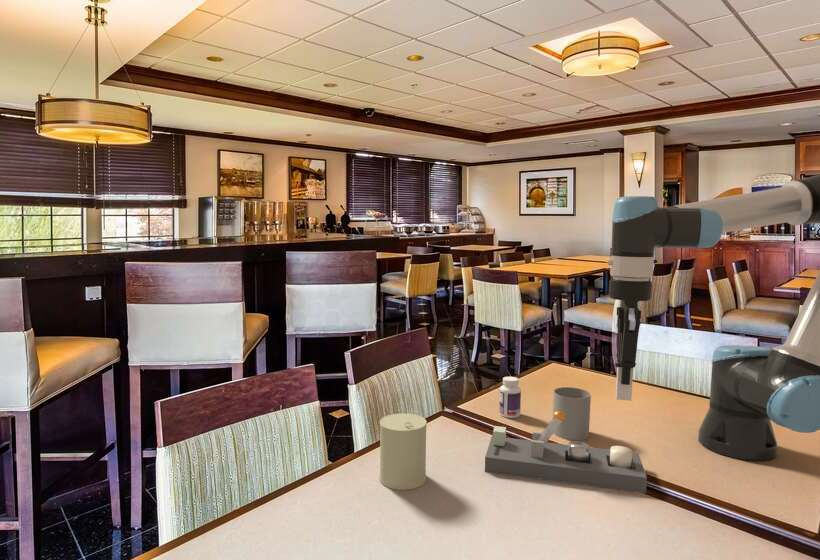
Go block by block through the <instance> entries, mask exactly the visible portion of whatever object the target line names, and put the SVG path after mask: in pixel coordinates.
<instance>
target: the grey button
mask: <svg viewBox="0 0 820 560" xmlns="http://www.w3.org/2000/svg"><path fill="white" fill-rule="evenodd" d="M567 445H568V461H572V462H580V463H588V461H589V447H590V445H589V444H588V443H586V442H583V441H581V440H570V441H569V442H568V444H567Z"/></svg>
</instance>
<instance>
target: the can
mask: <svg viewBox="0 0 820 560" xmlns="http://www.w3.org/2000/svg"><path fill="white" fill-rule="evenodd" d="M427 424H428V422H427V419H426V418H424V416H421V415H418V414H415V413H409V412H408V413H406V412H405V413H404V412H401V413H391V414H388V415H385V416H383V417H382V418H381V419H380V420H379V436H380V437H379V439H380V440H379V444H380V445H379V447H380V448H379V449H380V450H379V451H380V452H379V453H380V454H379V460H380V461H379V476H378V479H379V482H380V484H381V485H383V486H384V487H386V488H388V489H392V490H399V491H409V490H414V489H417V488H419V487H422V486H423V485H424V484H426V481H427V474H426V472H427V471H426V469H427V468H426V467H427V466H426V465H427V464H426V461H427V460H426V458H427V446H426V445H427Z"/></svg>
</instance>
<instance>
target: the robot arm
mask: <svg viewBox="0 0 820 560" xmlns="http://www.w3.org/2000/svg"><path fill="white" fill-rule="evenodd" d="M611 223H612V227H611V228H612V232H611V253H610V255H611V257H610V259H611V260H610V259H609V260H607V262H606V265H607V266H610V271H609V274H610V276H611V277H612V278H610V279H609V281H608V297H609V298H610V299H613V300H616V301H620V306H619V307H618V306H617V307H616V317H617V320H616V321H617V322H616V323H617V324H616V327H617V340H616V341H617V342H616V343H617V344H616V355H615V356H616V360H617V361H616V362H615V364H614V367H616V383H615V399H616V400H620V401H628V402H629V401H630V402H631V401H632V397H633V395H632V394H633V393H632V392H633V381H634V380H633V378H634V377H633V376H634V368H635V367H636V365H637V363H636V361H637V350H638V343H639V332H640V326H641V318H642V311H641V310H640V308H638V307H639V306H638V305H639V304H638V303H639V302H646V301H647V302H648V301H650V300H651V298H652V291H653V290H652V289H653V282H652V280H650V279H651V278H653V277H654V264H655V263H654V262H655V257H654V256H655V248H672V249H674V248H675V249H676V248H677V249H696V250H699V249H707V248H708V249H709V248H712V247H714V246H716V245H717V244H718V242H719V241H720V240H721V237H722V234H726V233H729V232H730V233H731V232H737V231H744V230H748V229H749V230H750V229H755V228H760V227H767V226H772V225H779V224H785V223H786V224H789V225H791V226H800V225H801V226H802V225H808V224H820V174H817V175H816V174H815V175H813V176H809V177H806V178H800V179H796V180H789V181H787V182H785V183H784V184H783V185H782V186H780V187H775V188H771V189H764V190H760V191H753V192H752V191H751V192H748V193H742V194H736V195H729V196H724V197H717V198H711V199H706V200H700V201H699V200H698V201H692V202H688V203H682V204H676V205H673V206H672V205H671V206H663V207H659V204H658V199H657V198H656V197H655V196H647V195H646V196H645V195H641V196H640V195H637V196H636V195H632V196H626V195H625V196H620V197H618V198H617V199H616V200H615V201H614V205H613V212H612V219H611ZM792 325H793V326H792V327H791V329H790V332H789V333H788V336H787V338H786V340H785V342H784V343H783V344H780V345H777V346H775V347H772V348H770V347H765V346H755V345H742V344H741V345H740V344H739V345H734V344H732V345H730V344H729V345H728V344H727V345H720V346H717V347H715V349H714V350H713V353H712V360H711V375H710V376H711V379H710V395H709V404H708V405H709V406H708V410H707V412H706V414H705V416H704V419H703V420H702V422H701V425H700V427H699V429H698V436H697V437H698V438H697V439H698V440H697V441H698V442H699V444H701V446H703V447H705V448H706V449H708V450H711V451H712V452H715V453H717V454H720V455H723V456H726V457H730V458H734V459H739V460H744V461H755V462H757V461H758V462H759V461H761V462H762V461H763V462H764V461H769V460H770V461H771V460H772V459H775V458H776V457H777V454H778V442H777V438H776V436H775V432H774V429H773V425H772V422H773V423H774V424H776V425H777V426H779V427H782V428H787V429H789V430H791V431H793V432H797V433H803V434H804V433H806V434H809V433H811V434H812V433H816V432H817V431H820V270H819V271H818V273H817V276H816V277H815V280H814V281H813V284H812V285H811V288H810V290H809V292H808V294H807V296H806V298H805V301H804V303H803V305H802V306H801V309H800V311H799V313H798V315H797V317H796V319H795V321H794V324H792Z"/></svg>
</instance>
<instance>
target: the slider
mask: <svg viewBox="0 0 820 560" xmlns="http://www.w3.org/2000/svg"><path fill="white" fill-rule="evenodd" d="M492 436H493V445H498V446H504V445H505V441H506V438H507V427H506V426H499V425H498V426H497V425H494V427H493V431H492Z"/></svg>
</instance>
